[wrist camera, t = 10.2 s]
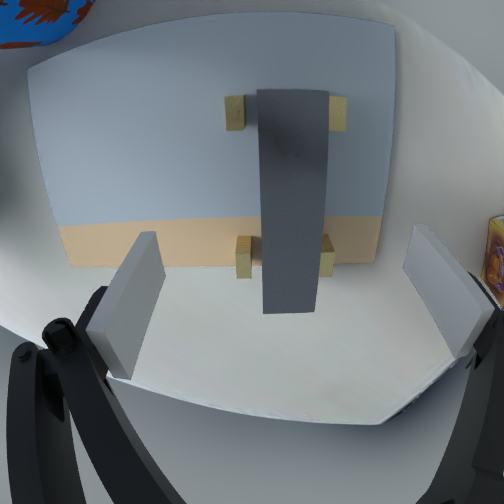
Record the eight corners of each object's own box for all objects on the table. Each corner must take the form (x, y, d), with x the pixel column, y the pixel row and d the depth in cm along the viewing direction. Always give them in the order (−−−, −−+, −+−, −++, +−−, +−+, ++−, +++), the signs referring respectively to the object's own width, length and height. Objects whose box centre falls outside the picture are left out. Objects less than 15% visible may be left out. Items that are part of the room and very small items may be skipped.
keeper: (239, 258, 27) (236, 278, 25) (228, 95, 20) (224, 96, 17) (325, 256, 27) (331, 276, 24) (335, 95, 19) (346, 97, 17)
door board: (75, 261, 29) (71, 266, 28) (33, 68, 18) (27, 69, 17) (370, 257, 28) (373, 262, 27) (389, 27, 16) (394, 25, 15)
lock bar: (257, 89, 19) (256, 89, 14) (311, 89, 19) (329, 91, 14) (262, 269, 28) (263, 313, 23) (305, 268, 28) (314, 312, 23)
